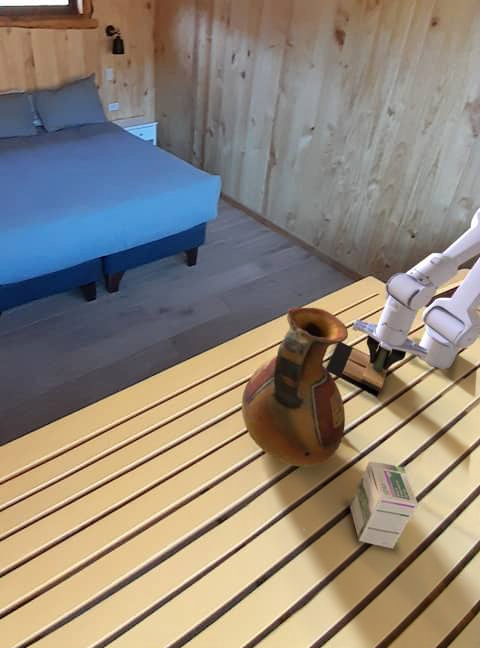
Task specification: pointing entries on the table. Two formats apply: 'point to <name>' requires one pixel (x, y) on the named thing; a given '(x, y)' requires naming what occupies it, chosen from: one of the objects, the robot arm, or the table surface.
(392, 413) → the table surface
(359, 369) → the chip
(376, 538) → the syrup box
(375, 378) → the brush
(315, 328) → the ceramic pitcher
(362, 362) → the chip
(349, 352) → the enamel panel
